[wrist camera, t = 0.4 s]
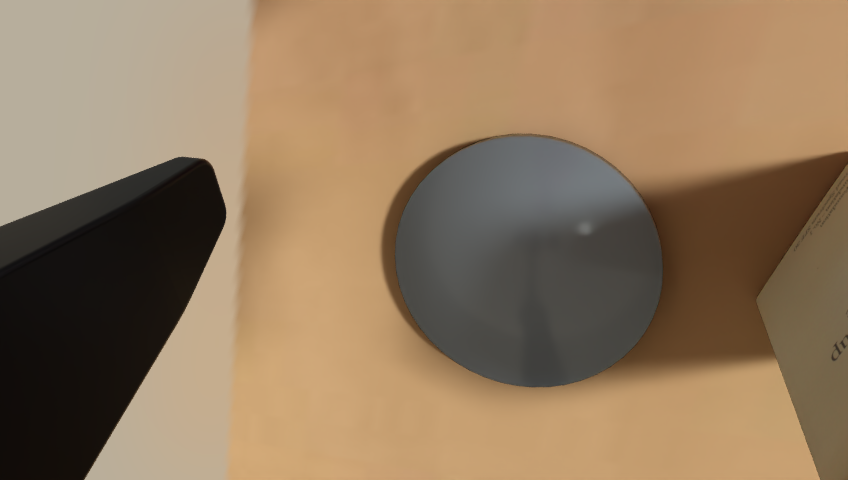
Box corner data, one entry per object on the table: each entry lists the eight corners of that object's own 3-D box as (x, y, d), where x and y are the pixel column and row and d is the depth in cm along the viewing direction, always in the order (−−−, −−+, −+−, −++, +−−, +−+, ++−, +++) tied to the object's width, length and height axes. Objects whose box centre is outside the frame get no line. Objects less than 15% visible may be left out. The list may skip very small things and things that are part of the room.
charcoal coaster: (538, 420, 28) (535, 431, 27) (356, 264, 28) (348, 271, 27) (724, 260, 24) (727, 269, 23) (508, 75, 24) (504, 78, 23)
